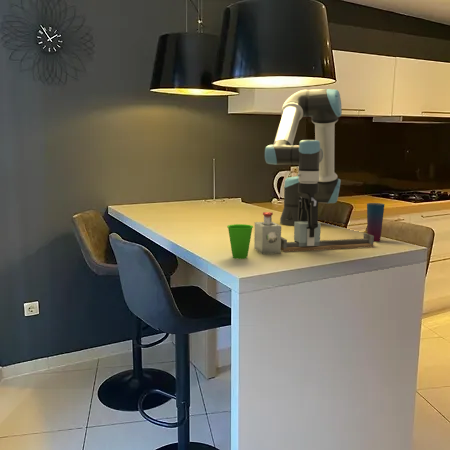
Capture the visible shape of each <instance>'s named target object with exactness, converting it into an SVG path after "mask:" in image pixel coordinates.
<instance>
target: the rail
mask: <svg viewBox="0 0 450 450" xmlns="http://www.w3.org/2000/svg"><path fill="white" fill-rule="evenodd" d="M298 244H299V242H294V241H288V239H286V238H284V237H282V236H281V252H284V253H287V252H304V251H305V252H306V251H307V252H308V251H325V249H328V250H342V249H341V248H348V249H358V248H357V247H367V248H374V236H373V235H370V234H367V232H364V233H363V238H347V239H345V238H344V239H329V240H328V239H326V240H324V239H323V240H322V239H320V243H319V246H304V247H299V246H298Z"/></svg>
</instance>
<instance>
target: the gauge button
mask: <svg viewBox="0 0 450 450" xmlns="http://www.w3.org/2000/svg"><path fill="white" fill-rule="evenodd" d="M262 215H263V222H264V225H271V223H272V222H273V221H272V216H273V212H272V211H263V212H262Z"/></svg>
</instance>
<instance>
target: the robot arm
mask: <svg viewBox="0 0 450 450" xmlns="http://www.w3.org/2000/svg"><path fill="white" fill-rule="evenodd" d="M341 99H342V98H341V94H340V91H339V90H338V89H336V88H335V89H333V88H332V89H331V88H323V89H320V88H319V89H318V88H317V89H302V90H299V91H297V92H295V93H293V94H292V95H290V96H289V97H288V98H287V99H286V100H285V102H284V103H283V105H282V107H281V113H280V114H281V119H280V122H279V125H278V128H277V131H276V134H275V138H274V142H273V144H269V145H267V146H265V148H264V160H265V163H266V164H268V165H276V166H277V165H278V166H279V165H283V166H284V165H287V166H289V165H291V166H292V165H293V166H295V165H297V166H298V173H297V174H296V175H297V176H290V177H289V176H288V177H286V179H285V180H284V187H283V189H284V190H283V191H284V192H283V194H284V195H283V209H282V212H281V216H280V219H279V223H280V225H285V226H294V222H300V221H308V227H306V228H307V246H314V239H315V228H317V227H318V223H319V219H318V218H319V215H318V214H319V213H318V211H319V209H318V208H319V204H336V203H337V202H338V201H339V200H338V199H339V193H340V188H341V182H342V181H341V179H340V178H338V174H337V173H336V172H335V132H336V131H335V127H336V126H335V124H336V123H337V122H338V121H339V118H340V117H342V110H343V109H342V100H341ZM302 118H311V122H312V123H313V124H314V133H315V134H314V135H315V136H314V139H302V140H300V141H299V142H298V143H299V144H298V145H297V144H295V145H294V141H295V137H296V133H297V130H298V127H299V123H300V120H302Z"/></svg>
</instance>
